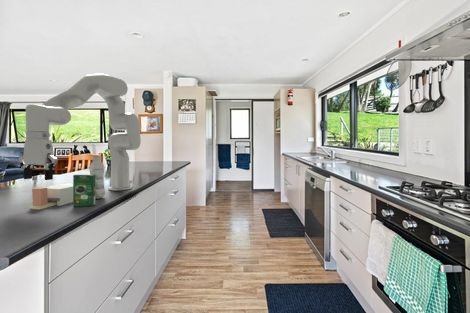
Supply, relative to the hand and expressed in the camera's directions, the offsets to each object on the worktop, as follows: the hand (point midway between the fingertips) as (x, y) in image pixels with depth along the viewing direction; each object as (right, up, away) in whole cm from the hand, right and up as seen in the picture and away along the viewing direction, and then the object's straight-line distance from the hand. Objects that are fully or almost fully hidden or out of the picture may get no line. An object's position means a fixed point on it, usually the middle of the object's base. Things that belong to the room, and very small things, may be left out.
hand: (38, 179), depth 109 cm
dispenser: (+2, -11, +12) cm, 17 cm away
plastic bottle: (+14, -11, +19) cm, 26 cm away
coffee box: (+16, -12, +5) cm, 20 cm away
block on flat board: (+1, -11, +8) cm, 14 cm away
